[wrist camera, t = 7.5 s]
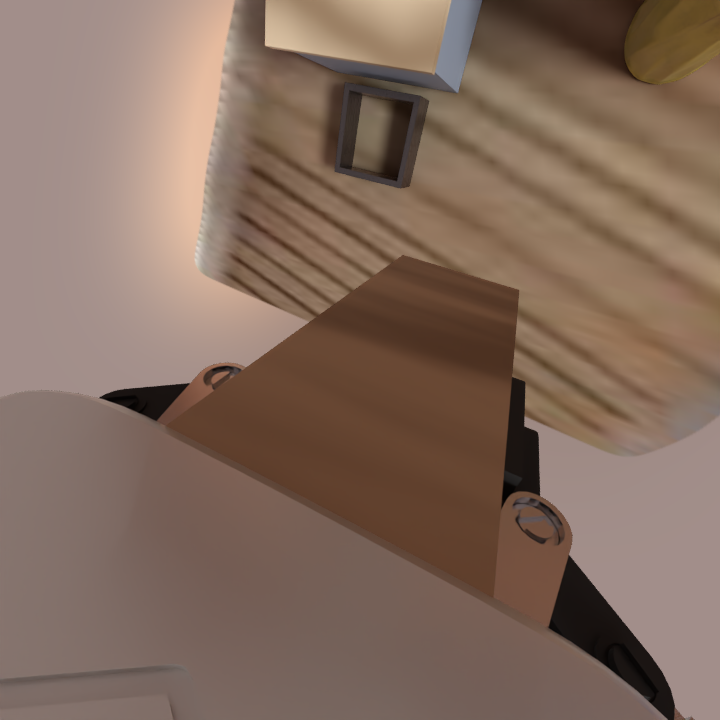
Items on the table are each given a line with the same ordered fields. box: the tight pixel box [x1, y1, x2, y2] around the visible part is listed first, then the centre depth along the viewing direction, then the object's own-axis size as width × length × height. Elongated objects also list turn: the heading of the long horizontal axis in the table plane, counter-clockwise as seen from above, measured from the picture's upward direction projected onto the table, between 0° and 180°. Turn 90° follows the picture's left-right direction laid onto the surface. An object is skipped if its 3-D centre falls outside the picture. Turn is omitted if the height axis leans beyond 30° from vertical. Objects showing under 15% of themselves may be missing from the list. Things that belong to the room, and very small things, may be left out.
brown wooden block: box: [165, 255, 519, 598], centre depth 9 cm, size 5×5×16 cm
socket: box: [335, 82, 429, 188], centre depth 33 cm, size 7×7×3 cm
